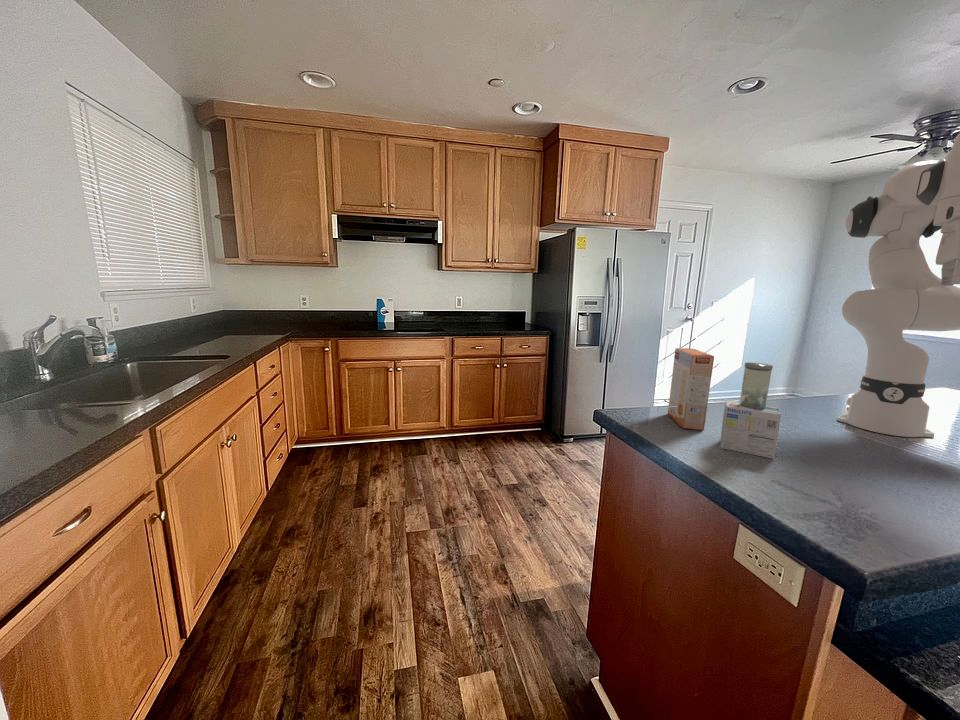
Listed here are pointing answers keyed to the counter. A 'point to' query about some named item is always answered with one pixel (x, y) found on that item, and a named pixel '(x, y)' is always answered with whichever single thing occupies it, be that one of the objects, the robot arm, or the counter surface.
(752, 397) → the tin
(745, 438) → the light bulb box
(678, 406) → the cracker box
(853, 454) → the counter surface
